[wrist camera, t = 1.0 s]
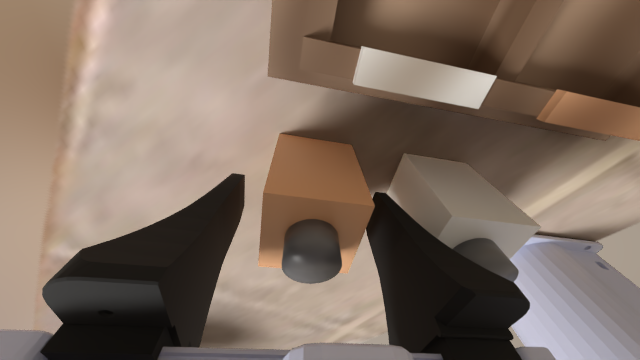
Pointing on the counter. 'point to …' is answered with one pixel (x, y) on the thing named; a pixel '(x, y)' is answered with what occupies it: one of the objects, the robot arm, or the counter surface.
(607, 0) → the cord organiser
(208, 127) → the counter surface
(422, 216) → the grey plug
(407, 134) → the counter surface
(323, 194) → the orange plug
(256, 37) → the counter surface
